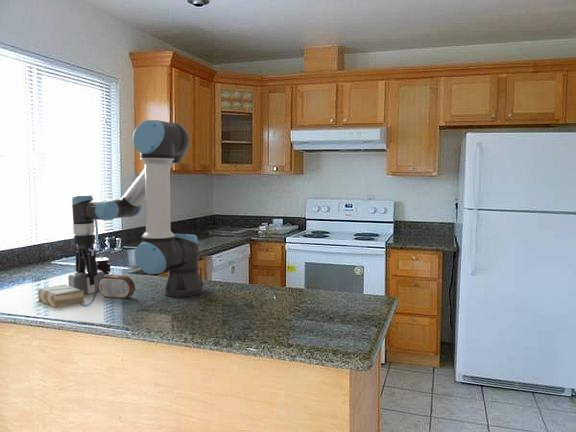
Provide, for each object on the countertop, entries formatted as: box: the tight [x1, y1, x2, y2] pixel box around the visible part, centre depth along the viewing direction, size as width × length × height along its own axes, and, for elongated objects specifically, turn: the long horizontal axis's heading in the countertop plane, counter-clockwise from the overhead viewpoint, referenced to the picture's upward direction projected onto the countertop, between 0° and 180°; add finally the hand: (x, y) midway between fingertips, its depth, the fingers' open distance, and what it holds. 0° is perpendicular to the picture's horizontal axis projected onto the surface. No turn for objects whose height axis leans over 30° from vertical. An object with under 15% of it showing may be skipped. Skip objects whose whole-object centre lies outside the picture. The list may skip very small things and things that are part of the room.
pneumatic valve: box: [96, 256, 111, 276], centre depth 206 cm, size 6×12×12 cm, turn 27°
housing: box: [67, 269, 105, 295], centre depth 192 cm, size 6×12×9 cm, turn 134°
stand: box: [37, 284, 85, 309], centre depth 178 cm, size 16×10×4 cm, turn 47°
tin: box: [98, 274, 136, 300], centre depth 182 cm, size 15×3×8 cm, turn 72°
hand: (87, 291), depth 192 cm, fingers open, 7 cm apart
